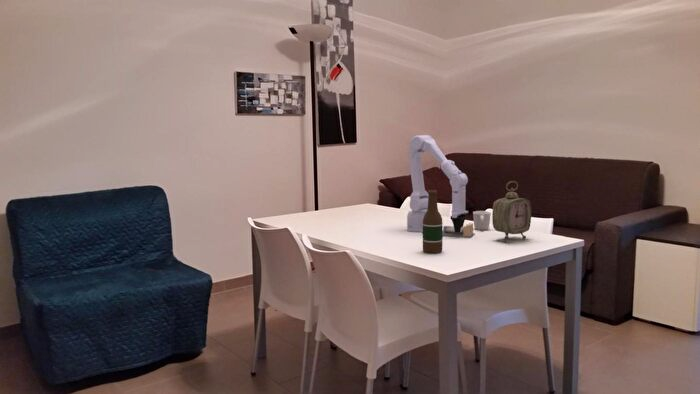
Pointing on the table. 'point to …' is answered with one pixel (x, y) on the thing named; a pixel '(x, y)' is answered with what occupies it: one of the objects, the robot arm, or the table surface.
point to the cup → (481, 220)
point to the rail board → (466, 232)
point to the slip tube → (451, 229)
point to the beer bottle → (432, 226)
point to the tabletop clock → (511, 214)
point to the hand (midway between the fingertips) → (458, 231)
